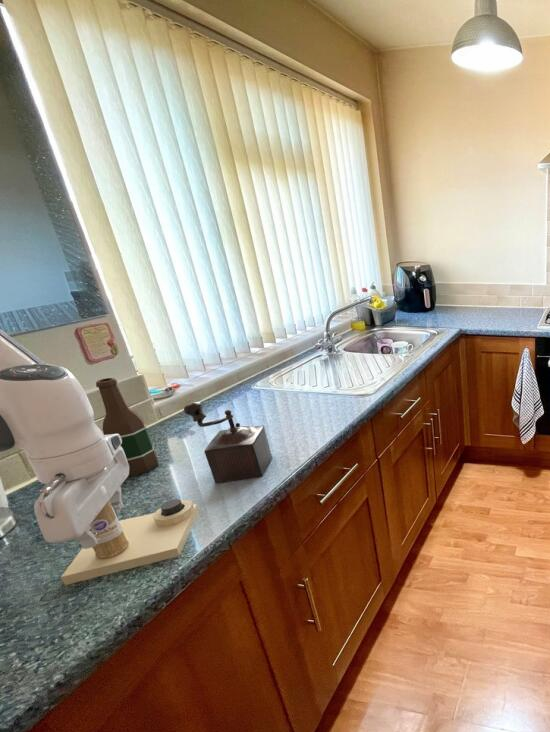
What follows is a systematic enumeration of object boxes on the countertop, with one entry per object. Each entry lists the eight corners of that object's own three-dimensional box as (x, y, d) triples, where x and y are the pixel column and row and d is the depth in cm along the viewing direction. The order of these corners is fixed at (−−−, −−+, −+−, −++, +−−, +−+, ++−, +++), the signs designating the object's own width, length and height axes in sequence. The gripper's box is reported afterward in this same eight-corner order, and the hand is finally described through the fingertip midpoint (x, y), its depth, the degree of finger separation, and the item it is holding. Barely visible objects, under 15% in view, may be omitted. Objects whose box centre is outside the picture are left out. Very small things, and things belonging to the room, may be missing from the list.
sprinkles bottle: (102, 563, 70) (70, 500, 66) (92, 553, 73) (60, 491, 68) (134, 546, 74) (107, 485, 69) (124, 538, 76) (97, 478, 71)
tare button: (160, 518, 80) (158, 510, 79) (166, 508, 82) (163, 501, 82) (180, 513, 81) (177, 506, 80) (185, 504, 83) (182, 497, 83)
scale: (64, 585, 68) (56, 569, 67) (103, 532, 80) (96, 518, 79) (180, 556, 74) (174, 541, 73) (199, 510, 86) (195, 497, 85)
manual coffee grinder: (274, 454, 108) (258, 392, 101) (263, 477, 98) (244, 410, 91) (207, 463, 104) (185, 399, 97) (188, 488, 94) (163, 419, 87)
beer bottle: (130, 462, 104) (95, 376, 95) (166, 457, 106) (134, 372, 98) (113, 479, 97) (73, 387, 89) (151, 473, 99) (116, 383, 91)
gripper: (64, 490, 59) (100, 563, 64) (123, 430, 76) (148, 490, 81) (4, 501, 56) (47, 576, 61) (80, 436, 74) (108, 499, 79)
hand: (105, 527), depth 71 cm, fingers open, 8 cm apart
